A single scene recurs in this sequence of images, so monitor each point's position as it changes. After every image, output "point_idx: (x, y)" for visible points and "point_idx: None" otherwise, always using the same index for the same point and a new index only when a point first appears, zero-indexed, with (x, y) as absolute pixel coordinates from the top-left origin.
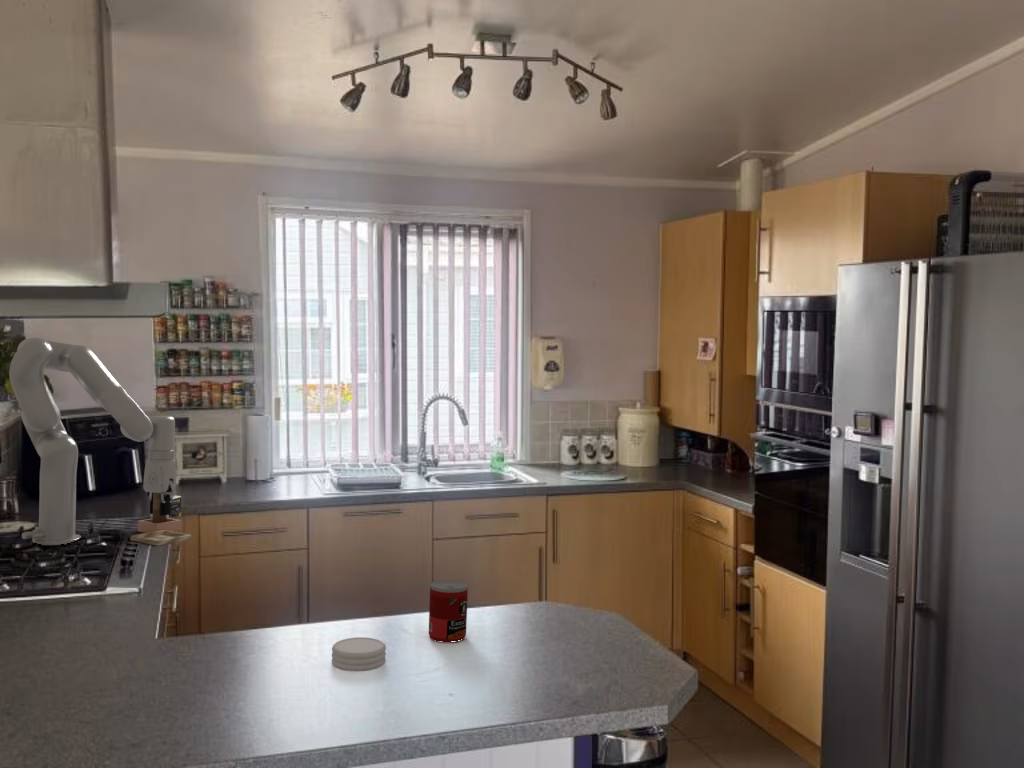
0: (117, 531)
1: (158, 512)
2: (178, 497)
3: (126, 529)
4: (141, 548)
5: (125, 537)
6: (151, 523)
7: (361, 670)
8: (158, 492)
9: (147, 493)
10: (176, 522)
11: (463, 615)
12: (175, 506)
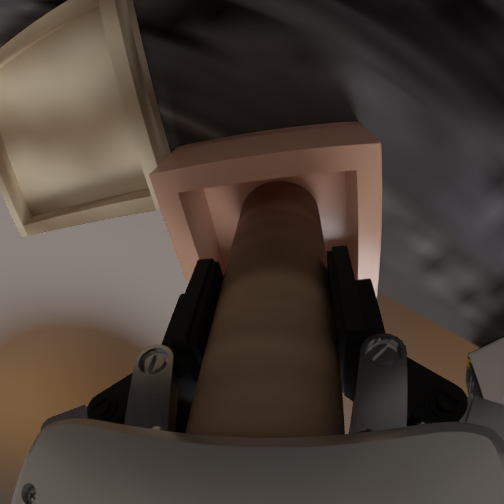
0: (482, 91)
1: (230, 270)
2: None
3: (489, 154)
4: (7, 16)
5: (296, 10)
6: (208, 162)
7: None
8: (100, 427)
9: (455, 398)
10: None
11: None
12: None
